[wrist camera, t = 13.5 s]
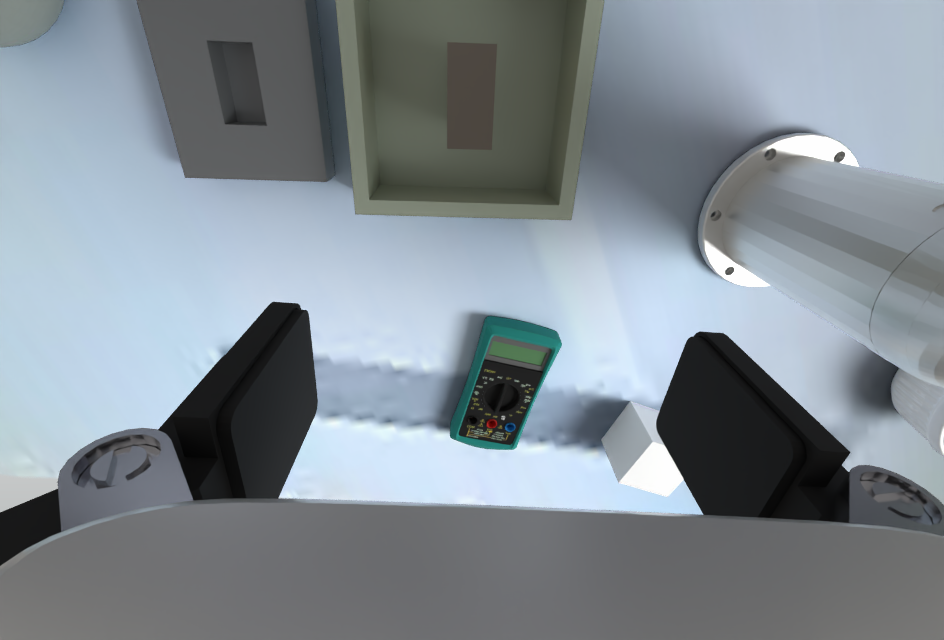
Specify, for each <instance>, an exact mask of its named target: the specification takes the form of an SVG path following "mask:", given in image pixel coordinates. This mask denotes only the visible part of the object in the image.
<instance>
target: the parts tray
mask: <svg viewBox="0 0 944 640" xmlns="http://www.w3.org/2000/svg"><path fill="white" fill-rule="evenodd" d="M335 2H336V12H337V23H338V34H339V44H340V55H341V66H342V76H343V87H344V98H345V108H346V119H347V129H348V140H349V151H350V161H351V172H352V183H353V193H354V204H355V214H362V215H399V216H436V217H474V218H511V219H549V220H571V219H572V213H573V206H574V199H575V193H576V186H577V180H578V173H579V166H580V160H581V153H582V146H583V140H584V133H585V126H586V120H587V113H588V106H589V100H590V93H591V86H592V80H593V73H594V66H595V60H596V53H597V46H598V40H599V33H600V26H601V20H602V13H603V6H604V0H335ZM447 42H458V43H482V44H497V57H496V77H495V96H494V116H493V136H492V150H472V149H447Z"/></svg>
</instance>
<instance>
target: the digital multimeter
mask: <svg viewBox="0 0 944 640" xmlns="http://www.w3.org/2000/svg"><path fill="white" fill-rule="evenodd" d="M561 346H562V343H561V340H560V338H559V335H558V333H557V332H556V331H554V330H551V329H548V328H545V327H542V326H538V325H535V324H531V323H527V322H523V321H519V320H513V319H508V318H501V317H494V316H488V317H486V319H485V321H484V324H483V328H482V331H481V335H480V339H479V342H478V346H477V350H476V353H475V357H474V360H473V363H472V366H471V369H470V372H469V375H468V379H467V382H466V384H465V387H464V390H463V392H462V395H461V398H460V400H459V403H458V406H457V408H456V411H455V413H454V416H453V418H452V421H451V423H450V437H451V438H452V439H454V440H457V441H459V442H462V443H465V444H468V445H471V446H474V447H479V448H485V449H497V450H513V449H515V448H516V447H517V445H518V442H519V439H520V436H521V434H522V431H523V428H524V426H525V423H526V421H527V418H528V416H529V413H530V411H531V408H532V406H533V403H534V401H535V399H536V397H537V395H538V392H539V390H540V388H541V386H542V384H543V382H544V379H545V377H546V375H547V373H548V371H549V369H550V368H551V366H552V364H553V362H554V360H555V358H556V356H557V354H558V352H559V350H560V348H561ZM481 366H482V367H481ZM480 369H481V370H480ZM473 389H474V390H473ZM472 392H473V393H472ZM466 409H467V410H466ZM465 412H466V413H465ZM464 415H465V416H464Z"/></svg>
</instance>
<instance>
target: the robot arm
mask: <svg viewBox="0 0 944 640" xmlns="http://www.w3.org/2000/svg"><path fill="white" fill-rule="evenodd" d="M698 244H699V247H700V251H701V255H702V256H703V258H704V260H705V262H706V263H707V265H708V266H709V267H710V268H711V269H712V270H713V271H714V272H715V273H716V274H717V275H719V276H720V277H722V278H723V279H725V280H727V281H729V282H731V283H733V284H736V285H741V286H745V287H764V286H771V287H773V288H774V289H776V290H778V291H779V292H781V293H782V294H784V295H785V296H787V297H789V298H790V299H792V300H793V301H795V302H796V303H798V304H800V305H801V306H803V307H804V308H806V309H807V310H809V311H810V312H812V313H814V314H815V315H817V316H818V317H820V318H821V319H823V320H825V321H826V322H828V323H829V324H831V325H832V326H834V327H835V328H837V329H839V330H840V331H842V332H843V333H845V334H846V335H848V336H850V337H851V338H853V339H854V340H856V341H857V342H859V343H861V344H862V345H864V346H865V347H867V348H869V349H870V350H871V351H873V352H875V353H876V354H878V355H879V356H881V357H882V358H884V359H886V360H887V361H889V362H891V363H892V364H894V365H896V366H897V367H899V368H900V369H902V370H903V371H905V372H907V373H909V374H911V375H913V376H914V377H916V378H918V379H920V380H923V381H925V382H928V383H930V384H933V385H936V386H939V387H943V388H944V184H942V183H937V182H932V181H927V180H922V179H918V178H913V177H908V176H903V175H898V174H893V173H888V172H883V171H878V170H874V169H869V168H864V167H859V165H858V162H857V160H856V158H855V157H854V155H853V154H852V152H851V151H850V149H848V148H847V147H846V146H845V145H843V144H842V143H841V142H840V141H837V140H835V139H833V138H830V137H828V136H824V135H818V134H812V133H794V134H788V135H782V136H779V137H776V138H773V139H770V140H767V141H765V142H763V143H761V144H759V145H757V146H756V147H754V148H752V149H750V150H749V151H747V152H746V153H745V154H743V155H742V156H741V157H739V158H738V159H737V160H735V161H734V162H733V163H732V164H731V165H730V166H729V167H728V168H727V169H726V170H725V171H724V173H723V174H722V175H721V176H720V178H719V179H718V180H717V182H716V183H715V184H714V186H713V187H712V189H711V191H710V193H709V195H708V196H707V198H706V200H705V202H704V205H703V208H702V211H701V214H700V218H699V225H698ZM317 403H318V400H317V389H316V380H315V370H314V360H313V351H312V341H311V331H310V322H309V314H308V311H307V310H301V308H300V305H299V304H296V303H282V302H272V303H270V305H269V306H268V307H267V308H266V309H265V310H264V311H263V313H262V314H261V315H260V316H259V317H258V318H257V319H256V321H255V322H254V323H253V324H252V325H251V326H250V327H249V329H248V330H247V331H246V332H245V333H244V334H243V335H242V337H241V338H240V339H239V340H238V341H237V342H236V343H235V345H234V346H233V347H232V348H231V349H230V350H229V351H228V353H227V354H226V355H224V356H223V357H222V358H221V359H220V360H219V361H218V362H217V363H216V365H215V366H214V367H213V368H212V369H211V370H210V371H209V373H208V374H207V375H206V376H205V377H204V378H203V379H202V381H201V382H200V383H199V384H198V385H197V386H196V387H195V388H194V390H193V391H192V392H191V393H190V394H189V395H188V396H187V398H186V399H185V400H184V401H183V402H182V403H181V404H180V405H179V407H178V408H177V409H176V410H175V411H174V412H173V413H172V415H171V416H170V417H169V418H168V419H167V420H166V421H165V423H164V424H163V425H162V426H161V427H160V428H159V429H158V430H157V429H149V428H138V429H128V430H124V431H121V432H117V433H113V434H110V435H108V436H105V437H103V438H100V439H98V440H96V441H94V442H92V443H90V444H89V445H87V446H85V447H84V448H82V449H80V450H79V451H78V452H77V453H76V454H74V455H73V456H72V457H71V458H70V459H69V460H68V461H67V462H66V464H65V465H64V466H63V468H62V469H61V470H60V473H59V478H58V489H56V490H54V491H51V492H49V493H46V494H44V495H42V496H39V497H37V498H34V499H32V500H30V501H27V502H25V503H22V504H20V505H18V506H15V507H13V508H10V509H8V510H5V511H3V512H1V513H0V640H944V505H943V504H942V503H941V502H940V500H938V499H937V498H936V497H935V496H933V495H932V494H931V493H930V492H928V491H927V490H926V489H924V488H923V487H921V486H919V485H918V484H916V483H915V482H913V481H911V480H909V479H907V478H905V477H903V476H901V475H899V474H897V473H895V472H892V471H889V470H886V469H884V468H880V467H875V466H870V465H858V466H856V467H854V468H852V469H851V470H850V472H848V471H847V470H846V469H845V468H844V467H843V466H842V464H843V462H844V461H845V459H846V458H847V457H848V455H849V454H850V451H848V450H847V449H846V448H845V447H844V446H843V445H842V444H841V443H840V442H839V441H838V440H837V439H836V438H835V437H834V436H833V435H832V434H830V433H829V432H828V431H827V430H826V429H825V428H824V427H823V426H822V425H821V424H820V423H819V422H818V421H817V420H816V419H815V418H814V417H813V416H811V415H810V414H809V413H808V412H807V411H806V410H805V409H804V408H803V407H802V406H801V405H800V404H799V403H798V402H797V401H796V400H795V399H793V398H792V397H791V396H790V395H789V394H788V393H787V392H786V391H785V390H784V389H783V388H782V387H781V386H780V385H779V384H778V383H777V382H775V381H774V380H773V379H772V378H771V377H770V376H769V375H768V374H767V373H766V372H765V371H764V370H763V369H762V368H761V367H760V366H759V365H757V364H756V363H755V362H754V361H753V360H752V359H751V358H750V357H749V356H748V355H747V354H746V353H745V352H744V351H743V350H742V349H741V348H740V347H738V346H737V345H736V344H735V343H734V342H733V341H732V340H731V339H730V338H729V337H728V336H727V335H725V334H724V333H712V332H698V333H696V334H695V335H694V337H690V338H689V339H688V340H687V342H686V344H685V347H684V349H683V352H682V354H681V357H680V360H679V362H678V365H677V367H676V370H675V373H674V375H673V378H672V380H671V383H670V386H669V388H668V391H667V393H666V396H665V398H664V401H663V404H662V406H661V409H660V411H659V414H658V417H657V420H656V429H657V432H658V434H659V436H660V438H661V440H662V442H663V443H664V445H665V447H666V449H667V450H668V452H669V454H670V456H671V458H672V459H673V461H674V463H675V465H676V466H677V468H678V470H679V472H680V474H681V475H682V477H683V479H684V481H685V482H686V484H687V486H688V488H689V490H690V491H691V493H692V495H693V497H694V498H695V500H696V502H697V504H698V506H699V507H700V509H701V511H702V513H703V514H704V515H696V514H675V513H654V512H633V511H610V510H587V509H564V508H540V507H516V506H492V505H466V504H438V503H411V502H384V501H357V500H326V499H278V497H279V495H280V493H281V491H282V488H283V486H284V484H285V482H286V479H287V477H288V475H289V473H290V470H291V468H292V466H293V464H294V461H295V459H296V457H297V455H298V452H299V450H300V448H301V446H302V443H303V441H304V439H305V437H306V434H307V432H308V430H309V428H310V425H311V423H312V421H313V419H314V416H315V414H316V410H317Z"/></svg>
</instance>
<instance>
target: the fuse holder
mask: <svg viewBox="0 0 944 640" xmlns="http://www.w3.org/2000/svg"><path fill="white" fill-rule="evenodd" d="M137 4H138V8H139V11H140V15H141V19H142V22H143V26H144V30H145V33H146V37H147V40H148V44H149V48H150V51H151V55H152V59H153V62H154V66H155V70H156V73H157V77H158V81H159V84H160V88H161V91H162V95H163V99H164V102H165V106H166V110H167V113H168V117H169V121H170V124H171V128H172V132H173V135H174V139H175V143H176V146H177V150H178V153H179V157H180V161H181V164H182V168H183V172H184V175H185V178H215V179H248V180H281V181H314V182H328V181H329V180H330V179H331V178H333V177H334V176H335V168H334V159H333V150H332V141H331V132H330V123H329V114H328V105H327V96H326V87H325V78H324V69H323V60H322V51H321V42H320V33H319V25H318V16H317V7H316V0H137Z"/></svg>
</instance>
